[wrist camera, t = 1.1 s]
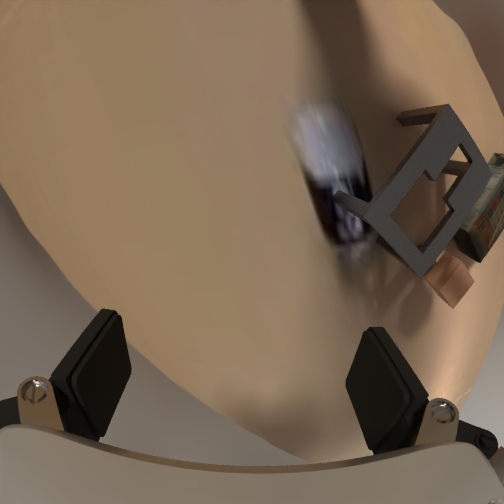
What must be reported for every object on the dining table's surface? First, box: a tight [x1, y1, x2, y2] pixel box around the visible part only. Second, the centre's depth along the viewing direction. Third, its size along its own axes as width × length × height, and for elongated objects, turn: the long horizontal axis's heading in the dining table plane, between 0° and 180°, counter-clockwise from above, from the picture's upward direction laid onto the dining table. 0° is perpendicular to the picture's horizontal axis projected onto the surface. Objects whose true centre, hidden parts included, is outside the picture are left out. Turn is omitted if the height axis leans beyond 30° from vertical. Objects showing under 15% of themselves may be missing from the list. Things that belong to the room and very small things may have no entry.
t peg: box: [417, 245, 474, 308], centre depth 34 cm, size 5×5×10 cm
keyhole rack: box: [331, 104, 493, 278], centre depth 30 cm, size 17×11×11 cm, turn 141°
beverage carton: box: [453, 153, 504, 263], centre depth 33 cm, size 8×19×7 cm, turn 138°
